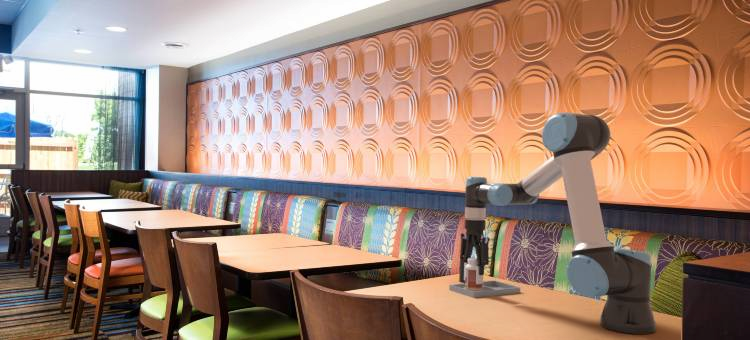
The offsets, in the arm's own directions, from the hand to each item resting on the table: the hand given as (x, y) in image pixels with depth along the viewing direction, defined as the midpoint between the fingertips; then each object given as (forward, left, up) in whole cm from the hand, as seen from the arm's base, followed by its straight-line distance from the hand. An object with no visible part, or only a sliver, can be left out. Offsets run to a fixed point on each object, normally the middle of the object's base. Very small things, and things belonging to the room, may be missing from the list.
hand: (473, 281), depth 215 cm
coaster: (0, 0, -4) cm, 4 cm away
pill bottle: (0, 0, -3) cm, 3 cm away
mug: (+18, -12, -5) cm, 22 cm away
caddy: (0, -5, -4) cm, 7 cm away
